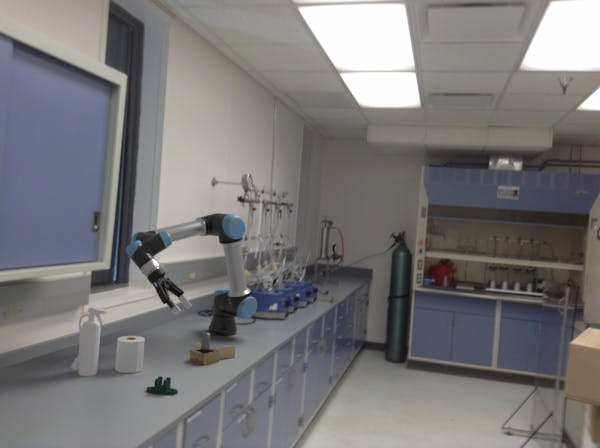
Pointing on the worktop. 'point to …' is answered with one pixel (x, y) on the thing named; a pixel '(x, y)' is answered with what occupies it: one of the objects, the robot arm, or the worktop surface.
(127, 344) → the toilet paper
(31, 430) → the worktop surface
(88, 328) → the fire extinguisher
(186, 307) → the robot arm
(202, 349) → the hinge pin
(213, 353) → the tan piece
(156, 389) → the mount
